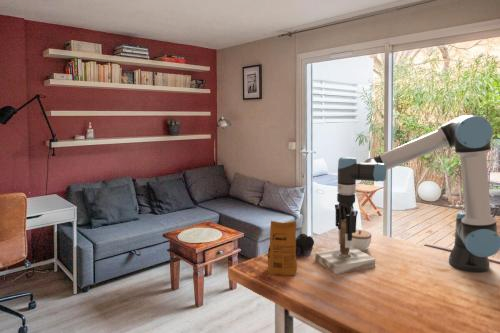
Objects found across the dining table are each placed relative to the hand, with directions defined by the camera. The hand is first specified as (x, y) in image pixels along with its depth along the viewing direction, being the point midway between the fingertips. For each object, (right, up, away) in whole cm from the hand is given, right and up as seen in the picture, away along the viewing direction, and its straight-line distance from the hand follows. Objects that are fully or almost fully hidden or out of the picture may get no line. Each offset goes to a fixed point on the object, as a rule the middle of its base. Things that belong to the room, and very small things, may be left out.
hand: (344, 245), depth 163 cm
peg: (0, -4, 0) cm, 4 cm away
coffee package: (-28, -10, -6) cm, 30 cm away
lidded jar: (+12, -6, +18) cm, 23 cm away
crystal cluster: (-18, -7, +14) cm, 24 cm away
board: (0, -8, +1) cm, 8 cm away
